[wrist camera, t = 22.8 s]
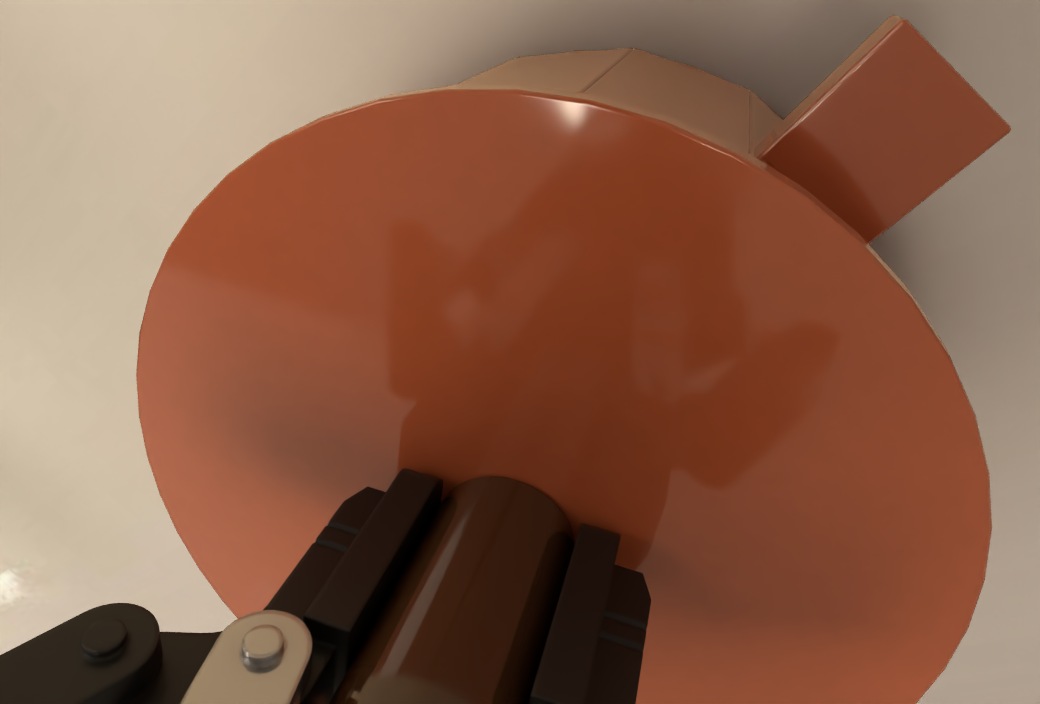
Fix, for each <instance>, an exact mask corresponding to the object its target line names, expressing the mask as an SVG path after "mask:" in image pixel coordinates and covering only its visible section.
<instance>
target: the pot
mask: <svg viewBox="0 0 1040 704" xmlns="http://www.w3.org/2000/svg"><path fill="white" fill-rule="evenodd" d="M457 85H529V86H536V87H542V88H549V89H556V90H563V91H570V92H577V93H584V94H591V95H597V96H601V97H604V98H608V99H611V100H615V101H618V102H622V103H625V104H629V105H632V106H636V107H639V108H643V109H646V110H649V111H653V112H656V113H660V114H663V115H667V116H670V117H672V118H674V119H677V120H679V121H681V122H683V123H686V124H688V125H690V126H692V127H695V128H697V129H699V130H701V131H704V132H706V133H708V134H710V135H713V136H715V137H717V138H719V139H722V140H724V141H726V142H728V143H731V144H733V145H735V146H737V147H739V148H741V149H743V150H744V151H746V152H747V153H749V154H751V155H752V156H754V157H755V158H757V159H759V160H760V161H762V162H764V163H765V164H767V165H768V166H770V167H772V168H773V169H775V170H776V171H778V172H780V173H781V174H783V175H785V176H786V177H788V178H789V179H791V180H793V181H794V182H796V183H797V184H799V185H801V186H802V187H804V188H805V189H806V190H807V191H808V192H810V193H811V194H812V195H813V196H814V197H816V198H817V199H818V200H819V201H820V202H822V203H823V204H824V205H825V206H826V207H828V208H829V209H830V210H831V211H832V212H834V213H835V214H836V215H837V216H838V217H840V218H841V219H842V220H843V221H844V222H846V223H847V224H848V225H849V226H850V227H852V228H853V229H854V230H855V231H856V232H858V233H859V234H860V235H861V236H862V237H863V239H864V240H865V241H866V242H867V243H868V244H870V243H871V242H873V241H874V240H875V239H876V238H878V237H879V236H880V235H881V234H883V233H884V232H885V231H886V230H888V229H889V228H890V227H891V226H893V225H894V224H895V223H896V222H898V221H899V220H900V219H901V218H903V217H904V216H905V215H906V214H908V213H909V212H910V211H911V210H913V209H914V208H915V207H916V206H918V205H919V204H920V203H921V202H923V201H924V200H925V199H926V198H928V197H929V196H930V195H931V194H933V193H934V192H935V191H936V190H938V189H939V188H940V187H941V186H943V185H944V184H945V183H946V182H948V181H949V180H950V179H951V178H953V177H954V176H955V175H957V174H958V173H959V172H960V171H962V170H963V169H964V168H965V167H967V166H968V165H969V164H970V163H972V162H973V161H974V160H975V159H977V158H978V157H979V156H980V155H982V154H983V153H984V152H985V151H987V150H988V149H989V148H990V147H992V146H993V145H994V144H995V143H997V142H998V141H999V140H1000V139H1002V138H1003V137H1004V136H1005V135H1007V134H1008V133H1009V132H1010V130H1011V128H1010V126H1009V125H1008V124H1007V123H1006V122H1005V120H1004V119H1003V118H1002V117H1001V116H1000V115H999V114H998V113H997V112H996V111H995V110H994V109H993V108H992V107H991V106H990V105H989V104H988V103H987V102H986V101H985V100H984V99H983V98H982V97H981V96H980V95H979V94H978V93H977V92H976V91H975V90H974V89H973V88H972V87H971V86H970V84H969V83H968V82H967V81H966V80H965V79H964V78H963V77H962V76H961V75H960V74H959V73H958V72H957V71H956V70H955V69H954V68H953V67H952V66H951V65H950V64H949V63H948V62H947V61H946V60H945V59H944V58H943V57H942V56H941V55H940V54H939V53H938V52H937V51H936V49H935V48H934V47H933V46H932V45H931V44H930V43H929V42H928V41H927V40H926V39H925V38H924V37H923V36H922V35H921V34H920V33H919V32H918V31H917V30H916V29H915V28H914V27H913V26H912V25H911V24H910V23H909V22H908V21H907V20H905V19H903V18H901V17H898V16H896V15H892V16H890V17H889V18H888V19H887V20H886V21H885V22H884V23H883V24H882V25H881V26H880V27H879V28H878V29H877V30H876V31H875V32H874V33H873V34H872V35H871V36H870V37H869V38H868V39H866V40H865V41H864V42H863V43H862V44H861V45H860V46H859V47H858V48H857V49H856V50H855V51H854V52H853V53H852V54H851V55H850V56H849V57H848V58H847V59H846V60H845V61H844V62H843V63H842V64H841V65H840V66H839V67H838V68H836V69H835V70H834V71H833V72H832V73H831V74H830V75H829V76H828V77H827V78H826V79H825V80H824V81H823V82H822V83H821V84H820V85H819V86H818V87H817V88H816V89H815V90H814V91H813V92H812V93H811V94H810V95H809V96H808V97H806V98H805V99H804V100H803V101H802V102H801V103H800V104H799V105H798V106H797V107H796V108H795V109H794V110H793V111H792V112H791V113H790V114H789V115H788V116H787V117H786V118H785V119H784V120H783V119H782V118H780V117H779V116H778V115H777V114H776V113H774V112H773V111H772V110H771V109H770V108H769V107H768V106H767V105H766V104H765V103H764V102H763V101H762V100H761V99H760V98H759V97H758V96H757V95H756V94H755V93H754V92H753V91H749V89H748V88H745V87H742V86H740V85H737V84H734V83H731V82H728V81H726V80H724V79H721V78H719V77H717V76H715V75H712V74H710V73H708V72H705V71H703V70H701V69H699V68H696V67H694V66H691V65H688V64H684V63H681V62H677V61H673V60H670V59H666V58H663V57H659V56H656V55H653V54H650V53H647V52H645V51H642V50H639V49H634V50H633V48H622V49H610V50H576V51H570V52H563V53H557V54H547V55H535V56H523V57H517V58H515V59H511V60H509V61H507V62H505V63H503V64H500V65H498V66H496V67H494V68H492V69H490V70H487V71H485V72H483V73H481V74H479V75H476V76H474V77H472V78H470V79H468V80H465V81H463V82H461V83H459V84H457Z"/></svg>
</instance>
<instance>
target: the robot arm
mask: <svg viewBox="0 0 1040 704" xmlns="http://www.w3.org/2000/svg"><path fill="white" fill-rule="evenodd" d="M442 490H443V480H442V479H440V478H437V477H434V476H430V475H427V474H424V473H420V472H417V471H414V470H411V469H407V468H403V469H402V470H401V471H400V472H399V473H398V475H397V476H396V478H395V479H394V481H393V482H392V484H391V485H390V487H389V488H388V490H387V491H386V492H384V491H381V490H378V489H374V488H371V487H368V486H367V487H366V488H364V489H363V490H361V491H359V492H358V493H356V494H355V495H353V496H351V497H350V498H348V499H346V500H345V501H344V502H343V503H342V504H341V506H340V507H339V508H338V510H337V511H336V512H335V514H334V515H333V517H332V518H331V519H330V521H329V523H328V525H327V526H325V527H324V529H323V530H322V531H321V533H320V534H319V536H318V537H317V538H316V542H315V543H313V544H312V545H311V546H310V548H309V549H308V550H307V552H306V553H305V555H304V556H303V557H302V559H301V560H300V561H299V563H298V564H297V565H296V567H295V568H294V569H293V571H292V572H291V574H290V575H289V576H288V578H287V579H286V580H285V582H284V583H283V584H282V586H281V587H280V589H279V590H278V591H277V593H276V594H275V595H274V597H273V598H272V599H271V601H270V602H269V603H268V605H267V606H266V607H265V608H264V609H263V610H262V611H257V612H253V613H250V614H247V615H245V616H242V617H240V618H239V619H237V620H235V621H234V622H232V623H231V624H230V625H229V626H227V627H226V628H225V629H224V631H221V632H215V633H182V632H160V631H159V625H158V622H157V620H156V618H155V617H154V615H153V614H152V613H151V612H150V611H148V610H146V609H145V608H143V607H141V606H138V605H134V604H129V603H114V604H107V605H102V606H99V607H96V608H93V609H90V610H88V611H86V612H84V613H82V614H80V615H78V616H76V617H74V618H72V619H70V620H68V621H66V622H64V623H62V624H60V625H58V626H56V627H55V628H53V629H51V630H49V631H47V632H45V633H43V634H41V635H39V636H37V637H35V638H33V639H31V640H29V641H27V642H25V643H23V644H21V645H20V646H18V647H16V648H14V649H12V650H10V651H8V652H6V653H4V654H2V655H0V704H329V702H330V700H331V698H332V696H333V695H334V693H335V691H336V689H337V688H338V686H339V684H340V682H341V680H342V679H343V677H344V675H345V673H346V671H347V670H348V668H349V666H350V664H351V663H352V661H353V659H354V657H355V655H356V654H357V652H358V650H359V648H360V646H361V645H362V643H363V641H364V639H365V638H366V636H367V634H368V632H369V630H370V629H371V627H372V625H373V623H374V622H375V620H376V618H377V616H378V614H379V613H380V611H381V609H382V607H383V605H384V604H385V602H386V600H387V598H388V597H389V595H390V593H391V591H392V589H393V588H394V586H395V584H396V582H397V580H398V579H399V577H400V575H401V573H402V572H403V570H404V568H405V566H406V564H407V563H408V561H409V559H410V557H411V555H412V554H413V552H414V550H415V548H416V547H417V545H418V543H419V541H420V539H421V538H422V536H423V534H424V532H425V530H426V529H427V527H428V525H429V523H430V522H431V520H432V518H433V516H434V514H435V513H436V511H437V509H438V507H439V505H440V504H441V498H442ZM620 537H621V534H618V533H615V532H611V531H608V530H605V529H602V528H598V527H595V526H592V525H589V524H585V523H581V526H580V529H579V533H578V536H577V539H576V543H575V546H574V549H573V553H572V556H571V560H570V563H569V566H568V570H567V573H566V577H565V580H564V583H563V587H562V590H561V594H560V597H559V600H558V604H557V607H556V611H555V614H554V617H553V621H552V624H551V628H550V631H549V634H548V638H547V641H546V645H545V648H544V651H543V655H542V658H541V661H540V665H539V668H538V672H537V675H536V678H535V682H534V685H533V689H532V692H531V695H530V699H529V703H528V704H636V697H637V691H638V684H639V678H640V671H641V664H642V658H643V649H644V645H645V638H646V632H647V631H646V629H647V625H648V618H649V612H650V605H651V597H650V594H649V591H648V588H647V585H646V582H645V578H644V575H643V573H641V572H637V571H634V570H631V569H628V568H625V567H621V566H618V565H615V560H616V556H617V551H618V546H619V542H620Z"/></svg>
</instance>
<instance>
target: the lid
mask: <svg viewBox="0 0 1040 704" xmlns="http://www.w3.org/2000/svg"><path fill="white" fill-rule="evenodd" d="M136 377H137V392H138V407H139V418H140V423H141V428H142V433H143V438H144V443H145V448H146V453H147V457H148V460H149V463H150V466H151V469H152V472H153V475H154V478H155V481H156V484H157V487H158V490H159V493H160V496H161V498H162V500H163V502H164V504H165V507H166V509H167V511H168V513H169V515H170V518H171V520H172V522H173V524H174V526H175V528H176V531H177V533H178V534H179V536H180V538H181V539H182V541H183V543H184V544H185V546H186V548H187V549H188V551H189V553H190V555H191V556H192V558H193V560H194V561H195V563H196V565H197V566H198V568H199V569H200V571H201V572H202V573H203V575H204V576H205V578H206V579H207V580H208V582H209V583H210V584H211V586H212V587H213V589H214V590H215V591H216V593H217V594H218V595H219V597H220V598H221V600H222V601H223V602H224V603H225V604H226V605H227V607H228V608H229V609H230V610H231V611H232V612H233V614H234V615H235V616H236V617H237V618H238V619H239V618H240V617H242V616H245V615H247V614H250V613H253V612H257V611H262V610H263V609H264V608H265V607H266V606H267V605H268V603H269V602H270V601H271V599H272V598H273V597H274V595H275V594H276V593H277V591H278V590H279V589H280V587H281V586H282V584H283V583H284V582H285V580H286V579H287V578H288V576H289V575H290V574H291V572H292V571H293V569H294V568H295V567H296V565H297V564H298V563H299V561H300V560H301V559H302V557H303V556H304V555H305V553H306V552H307V550H308V549H309V548H310V546H311V545H312V544H313V543H315V542H316V538H317V537H318V536H319V534H320V533H321V531H322V530H323V529H324V527H325V526H327V525H328V523H329V521H330V519H331V518H332V517H333V515H334V514H335V512H336V511H337V510H338V508H339V507H340V506H341V504H342V503H343V502H344V501H345V500H346V499H348V498H350V497H351V496H353V495H355V494H356V493H358V492H359V491H361V490H363V489H364V488H366V487H367V486H368V487H371V488H374V489H378V490H381V491H384V492H386V491H387V490H388V488H389V487H390V485H391V484H392V482H393V481H394V479H395V478H396V476H397V475H398V473H399V472H400V471H401V470H402V469H403V468H407V469H411V470H414V471H417V472H420V473H424V474H427V475H430V476H434V477H437V478H440V479H442V480H443V490H442V498H441V504H440V505H439V507H438V509H437V511H436V513H435V514H434V516H433V518H432V520H431V522H430V523H429V525H428V527H427V529H426V530H425V532H424V534H423V536H422V538H421V539H420V541H419V543H418V545H417V547H416V548H415V550H414V552H413V554H412V555H411V557H410V559H409V561H408V563H407V564H406V566H405V568H404V570H403V572H402V573H401V575H400V577H399V579H398V580H397V582H396V584H395V586H394V588H393V589H392V591H391V593H390V595H389V597H388V598H387V600H386V602H385V604H384V605H383V607H382V609H381V611H380V613H379V614H378V616H377V618H376V620H375V622H374V623H373V625H372V627H371V629H370V630H369V632H368V634H367V636H366V638H365V639H364V641H363V643H362V645H361V646H360V648H359V650H358V652H357V654H356V655H355V657H354V659H353V661H352V663H351V664H350V666H349V668H348V670H347V671H346V673H345V675H344V677H343V679H342V680H341V682H340V684H339V686H338V688H337V689H336V691H335V693H334V695H333V696H332V698H331V700H330V702H329V704H528V703H529V699H530V695H531V692H532V689H533V685H534V682H535V678H536V675H537V672H538V668H539V665H540V661H541V658H542V655H543V651H544V648H545V645H546V641H547V638H548V634H549V631H550V628H551V624H552V621H553V617H554V614H555V611H556V607H557V604H558V600H559V597H560V594H561V590H562V587H563V583H564V580H565V577H566V573H567V570H568V566H569V563H570V560H571V556H572V553H573V549H574V546H575V543H576V539H577V536H578V533H579V529H580V526H581V523H585V524H589V525H592V526H595V527H598V528H602V529H605V530H608V531H611V532H615V533H618V534H621V537H620V542H619V546H618V551H617V556H616V560H615V565H618V566H621V567H625V568H628V569H631V570H634V571H637V572H641V573H643V575H644V578H645V582H646V585H647V588H648V591H649V594H650V597H651V605H650V612H649V618H648V625H647V629H646V631H647V632H646V638H645V645H644V649H643V658H642V664H641V671H640V678H639V684H638V691H637V697H636V704H916V703H917V702H918V701H919V699H920V698H921V697H922V696H923V695H924V693H925V692H926V691H927V690H928V689H929V687H930V686H931V685H932V684H933V683H934V681H935V680H936V679H937V678H938V677H939V675H940V674H941V673H942V672H943V671H944V669H945V668H946V666H947V664H948V662H949V661H950V659H951V657H952V655H953V654H954V652H955V650H956V648H957V647H958V645H959V643H960V641H961V640H962V638H963V636H964V634H965V633H966V631H967V629H968V627H969V624H970V621H971V618H972V615H973V612H974V610H975V607H976V604H977V601H978V598H979V595H980V592H981V589H982V586H983V583H984V580H985V574H986V567H987V560H988V553H989V546H990V539H991V531H992V519H991V499H990V480H989V470H988V466H987V462H986V458H985V453H984V449H983V445H982V441H981V437H980V433H979V428H978V424H977V420H976V416H975V413H974V411H973V408H972V406H971V404H970V402H969V399H968V397H967V395H966V392H965V390H964V388H963V386H962V383H961V381H960V379H959V376H958V374H957V372H956V370H955V367H954V365H953V363H952V360H951V358H950V356H949V354H948V352H947V350H946V348H945V346H944V344H943V342H942V340H941V339H940V337H939V336H938V334H937V333H936V331H935V330H934V328H933V327H932V325H931V323H930V322H929V320H928V319H927V317H926V316H925V314H924V313H923V311H922V310H921V308H920V307H919V305H918V303H917V302H916V300H915V299H914V297H913V296H912V294H911V293H910V291H909V290H908V288H907V287H906V285H905V284H904V283H903V282H902V281H901V280H900V279H899V278H898V277H897V275H896V274H895V273H894V272H893V271H892V270H891V269H890V268H889V266H888V265H887V264H886V263H885V262H884V261H883V260H882V259H881V258H880V256H879V255H878V254H877V253H876V252H875V251H874V250H873V249H872V247H871V246H870V245H869V244H868V243H867V242H866V241H865V240H864V239H863V237H862V236H861V235H860V234H859V233H858V232H856V231H855V230H854V229H853V228H852V227H850V226H849V225H848V224H847V223H846V222H844V221H843V220H842V219H841V218H840V217H838V216H837V215H836V214H835V213H834V212H832V211H831V210H830V209H829V208H828V207H826V206H825V205H824V204H823V203H822V202H820V201H819V200H818V199H817V198H816V197H814V196H813V195H812V194H811V193H810V192H808V191H807V190H806V189H805V188H804V187H802V186H801V185H799V184H797V183H796V182H794V181H793V180H791V179H789V178H788V177H786V176H785V175H783V174H781V173H780V172H778V171H776V170H775V169H773V168H772V167H770V166H768V165H767V164H765V163H764V162H762V161H760V160H759V159H757V158H755V157H754V156H752V155H751V154H749V153H747V152H746V151H744V150H743V149H741V148H739V147H737V146H735V145H733V144H731V143H728V142H726V141H724V140H722V139H719V138H717V137H715V136H713V135H710V134H708V133H706V132H704V131H701V130H699V129H697V128H695V127H692V126H690V125H688V124H686V123H683V122H681V121H679V120H677V119H674V118H672V117H670V116H667V115H663V114H660V113H656V112H653V111H649V110H646V109H643V108H639V107H636V106H632V105H629V104H625V103H622V102H618V101H615V100H611V99H608V98H604V97H601V96H597V95H591V94H584V93H577V92H570V91H563V90H556V89H549V88H542V87H536V86H529V85H452V86H445V87H438V88H431V89H425V90H418V91H411V92H404V93H397V94H391V95H388V96H385V97H381V98H378V99H375V100H372V101H369V102H365V103H362V104H359V105H356V106H352V107H349V108H346V109H343V110H340V111H336V112H333V113H331V114H328V115H326V116H323V117H321V118H319V119H317V120H315V121H313V122H311V123H309V124H307V125H305V126H303V127H301V128H299V129H297V130H295V131H293V132H291V133H289V134H287V135H285V136H283V137H281V138H279V139H277V140H275V141H273V142H271V143H269V144H268V145H267V146H265V147H264V148H262V149H261V150H260V151H258V152H257V153H256V154H254V155H253V156H252V157H250V158H249V159H248V160H246V161H245V162H243V163H242V164H241V165H239V166H238V167H237V168H235V169H234V170H233V171H231V172H230V173H229V174H227V175H226V176H225V178H224V179H223V180H222V181H221V182H220V183H219V184H218V185H217V186H216V187H215V188H214V189H213V190H212V191H211V192H210V193H209V194H208V195H207V196H206V198H205V199H204V200H203V201H202V202H201V203H200V204H199V205H198V206H197V207H196V208H195V209H194V210H193V212H192V213H191V215H190V216H189V218H188V219H187V221H186V222H185V224H184V226H183V227H182V229H181V230H180V232H179V233H178V235H177V236H176V238H175V239H174V241H173V242H172V244H171V245H170V247H169V248H168V250H167V252H166V255H165V257H164V259H163V262H162V264H161V266H160V269H159V271H158V273H157V276H156V278H155V280H154V283H153V285H152V287H151V290H150V293H149V297H148V301H147V305H146V309H145V313H144V317H143V321H142V325H141V329H140V336H139V348H138V360H137V373H136Z"/></svg>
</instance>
